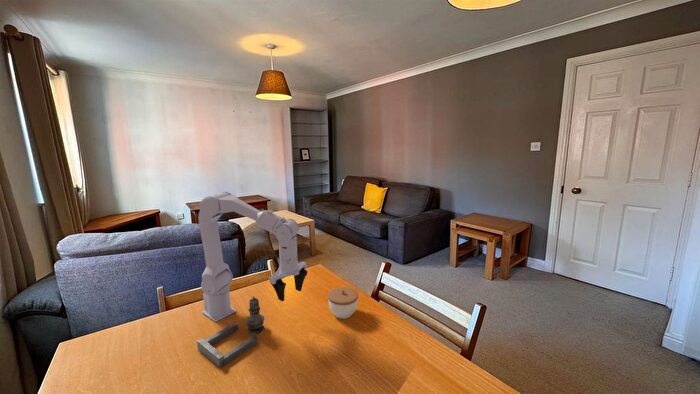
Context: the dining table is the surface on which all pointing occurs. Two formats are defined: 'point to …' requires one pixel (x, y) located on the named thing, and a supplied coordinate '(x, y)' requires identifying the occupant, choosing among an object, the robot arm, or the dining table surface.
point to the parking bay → (221, 359)
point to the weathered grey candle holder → (255, 318)
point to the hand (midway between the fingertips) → (290, 295)
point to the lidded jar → (343, 301)
